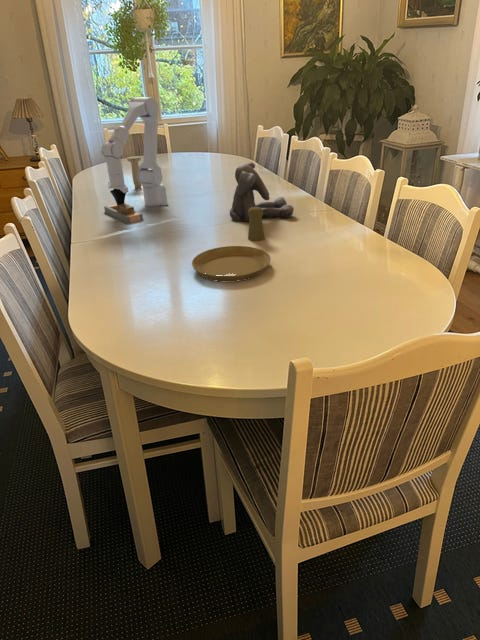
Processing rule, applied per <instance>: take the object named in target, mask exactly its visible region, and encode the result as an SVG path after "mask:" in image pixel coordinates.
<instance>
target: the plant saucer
mask: <svg viewBox="0 0 480 640" xmlns="http://www.w3.org/2000/svg"><path fill="white" fill-rule="evenodd" d="M271 259H272V258H271V256H270V254H269V253H268V252H266V251H264V249H260V248H257V247H253V246H244V245H229V246H228V245H227V246H220V247H214V248H211V249H207V250H205V251H202V252H200V253H199V254H197V255H196V256H195V257H194V258H193V259H192V261H191V266H192V267H193V270H194V271H195V272H196V273H197V274H198V275H200V276H202V277H204V278H205V279H207V278H208V279H207V280H210V279H211V280H210V281H213V280H217V281H216V282H220V281H235V282H238V281H237V280H242V281H245V280H244V279H247V280H249V279H248V278H250V279H252V277H253V278H255V277H256V276H258V275H261V274H262V273H263V272H264V271H265V270H266V269H267V268H268V267H269V265H270V263H271ZM205 273H206V274H205ZM229 273H230V274H232V273H233V274H236V275H235V276H224V275H226V274H229ZM216 275H223V276H216ZM254 276H255V277H254Z"/></svg>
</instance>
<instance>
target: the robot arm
mask: <svg viewBox="0 0 480 640" xmlns="http://www.w3.org/2000/svg"><path fill="white" fill-rule="evenodd" d="M158 113H159V103H158V102H157V100H156V99H155V98H154V97H153V96H149V97H147V96H145V97H143V96H142V97H140V96H133V97H132V98H131V99H130V102H129V103H128V110H127V112H126V114H125V117H124V118H123V119H122V120H123V121H122V122H121V125H117V126H116V127H114V129H113V132H112V134H111V135H110V137H109V139H108V140H107V141H106V142H104V143H103V145H102V146H101V150H100V152H101V155H102V156H103V157H104V161H105V162H106V168H107V173H108V179H109V182H108V181H107V184H108V185H107V189H112V190H109V191H110V194H111V195H112V196H113V198H114V201H115V204H117V206H118V205H119V204H124V203H125V199H126V195H127V193H129V187H128V186H127V185H126V183H125V178H124V177H125V176H124V171H123V170H124V169H123V165H122V164H123V163H122V158H121V157H122V156H123V153H124V147H125V144H126V142H127V140H128V139H129V137H130V130H131V128H132V127H133V126H134V124H135V122H136V121H137V119H138V118H140V119H141V120H142V121H143V122H144V132H143V157H142V158H143V159H142V161H143V162H142V163H140V164H139V171H138V174H137V179H138V181H139V183H141V187H142V191H143V192H142V193H143V199H144V201H143V202H144V205H145V206H147V207H153V206H159V205H162V206H168V205H169V203H168V197H167V196H168V194H167V189H166V186H165V184H163V183H162V181H163V173H162V167H161V166H160V165H159V164H158V163H157V154H158V151H157V150H158V149H157V148H158V123H159V118H158ZM118 208H119V206H118Z"/></svg>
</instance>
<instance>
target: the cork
mask: <svg viewBox="0 0 480 640" xmlns="http://www.w3.org/2000/svg"><path fill="white" fill-rule="evenodd" d="M248 215H249V217H250V221H249V222H248V232H247V240H248V241H251V242H252V241H253V242H260V241H263V240H265V239H266V235H265V230H264V225H263V218H262V215H263V210H262V208H260V207H251V208H250V209H249V210H248Z"/></svg>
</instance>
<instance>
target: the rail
mask: <svg viewBox="0 0 480 640" xmlns="http://www.w3.org/2000/svg"><path fill="white" fill-rule="evenodd" d="M103 209H104V212H103V213H104V214H105V215H107V216H110V217H111V218H113V219H116V220H117V221H119V222H121V223H124V224H126V225H128V224H133V223H136V222H140V221H144V220H145V218H144V217H143V216H144V215H143V213H142V212H139V211H137V210H135V209H134V212H135V213H133V214H129V215H125V214H123V213H121V212H119V208H118V206H117V203H115V204H108V205H105V206H103Z"/></svg>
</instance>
